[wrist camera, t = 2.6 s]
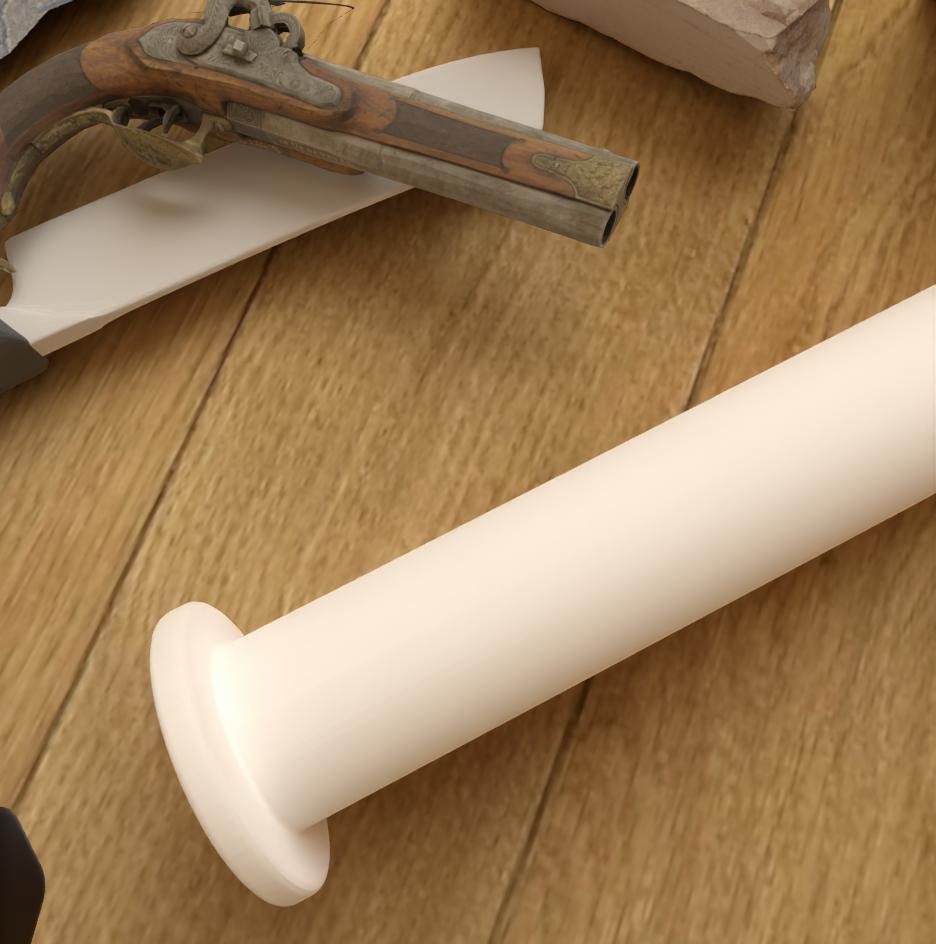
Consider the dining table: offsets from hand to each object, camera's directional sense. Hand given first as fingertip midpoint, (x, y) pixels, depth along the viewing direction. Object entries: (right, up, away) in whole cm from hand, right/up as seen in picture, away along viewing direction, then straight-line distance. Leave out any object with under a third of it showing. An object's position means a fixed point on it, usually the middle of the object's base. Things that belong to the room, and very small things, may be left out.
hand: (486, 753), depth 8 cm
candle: (-6, -4, +11) cm, 13 cm away
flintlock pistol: (-8, +6, +13) cm, 17 cm away
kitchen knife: (-11, +8, +17) cm, 22 cm away
